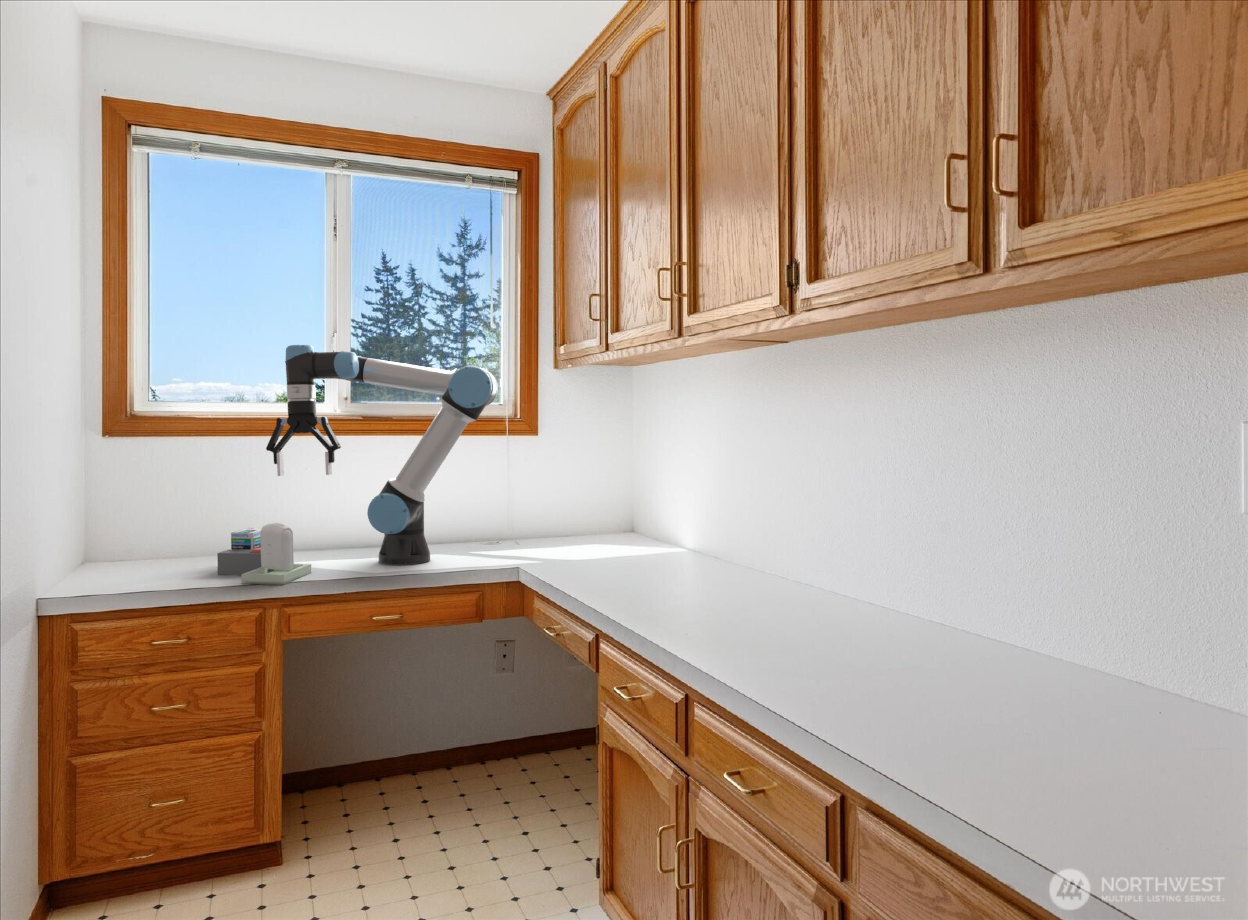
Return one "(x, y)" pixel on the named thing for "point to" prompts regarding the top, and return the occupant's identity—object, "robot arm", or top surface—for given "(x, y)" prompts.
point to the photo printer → (276, 547)
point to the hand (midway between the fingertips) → (304, 475)
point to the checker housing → (238, 562)
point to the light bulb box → (246, 539)
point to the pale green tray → (275, 575)
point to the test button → (256, 550)
